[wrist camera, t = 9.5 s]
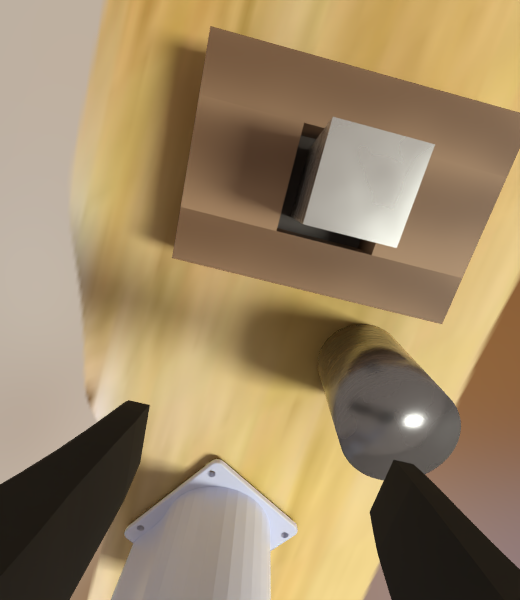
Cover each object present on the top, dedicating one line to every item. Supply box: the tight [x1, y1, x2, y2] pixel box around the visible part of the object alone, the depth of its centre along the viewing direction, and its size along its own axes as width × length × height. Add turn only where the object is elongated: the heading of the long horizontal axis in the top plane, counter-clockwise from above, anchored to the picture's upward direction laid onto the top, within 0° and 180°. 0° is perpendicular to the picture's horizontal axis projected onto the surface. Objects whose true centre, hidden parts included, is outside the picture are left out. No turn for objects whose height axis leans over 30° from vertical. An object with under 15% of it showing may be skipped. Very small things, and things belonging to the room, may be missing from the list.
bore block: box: [172, 26, 520, 324], centre depth 15 cm, size 9×13×2 cm
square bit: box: [291, 117, 435, 248], centre depth 13 cm, size 3×3×6 cm
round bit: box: [318, 324, 461, 480], centre depth 16 cm, size 5×5×6 cm
